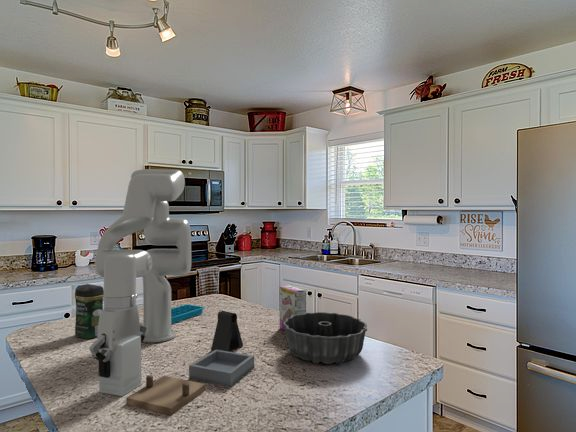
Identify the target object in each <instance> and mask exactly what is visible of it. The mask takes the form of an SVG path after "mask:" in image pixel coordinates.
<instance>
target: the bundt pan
mask: <svg viewBox="0 0 576 432" xmlns="http://www.w3.org/2000/svg"><path fill="white" fill-rule="evenodd" d="M283 325H284V327H285V330H284V332H285V338H286V343H287V346H288V348H289V350H290V352H291V353H292V354H293V356H295V357H297V358H300V359H302V360H303V361H307V362H309V361H312V362H313V363H314V364H318V363H320V362H321V363H323V364H326V365H330V364H333V363H336V364H338V365H339V364H343V362H344V361H345V362H347V361H351V360H353V359H354V358H355V357H357V356H358V355H360V354H361V352H362V351H363V347H364V343H365V336H366V332H368V328H367V327H368V324H367V323H366V322H364V321H362V320H361V319H360V318H358V317H354V316H351V315H348V314H343V313H342V314H340V313H337V312H325V311H324V312H323V311H320V312H319V311H318V312H306V313H304V314H297V315H293V316H291V317H290V318H286V321H284V323H283Z"/></svg>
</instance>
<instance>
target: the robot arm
mask: <svg viewBox="0 0 576 432" xmlns="http://www.w3.org/2000/svg"><path fill="white" fill-rule="evenodd" d="M185 180H186V179H185V175H184V173H183V172H182V170H179V169H160V168H157V169H155V168H152V169H151V168H145V169H137V170H134V171H133V172H132V173H131V175H130V180H129V183H128V187H127V192H126V197H125V201H124V202H125V203H124V206H123V212H122V216H120V217H119V218H118V219H116V220H115V221H114V222H113V223H112V224H111V225H109V226H108V227H107V229H105V231H104V232H103V233H102V235H101V236H100V239H99V241H98V245H97V249H96V254H95V259H94V270H95V272H96V274H97V275H98V276H100V277H101V278H103V290H104V298H103V310H101V313H100V317H99V323H98V333H97V337H96V340H95V341H94V342H93V343H92V344H91V345H90V346H89V348H88V349H89V352H90V353H91V355H92V357H93V358H94V359H95V360H96V361H97V362H98V377H99V376H100V377H105V378H109V377H110V361H108V359H109V357H110V356H111V354H112V352H113V351H115V350H116V345H118V344H120V343H122V342H124V341H127V340H129V339H132V338H134V337H137V336H140V337H141V347H142V346H143V343H148V344H149V343H152V344H153V343H162V342H166V341H167V342H168V341H170V340H172V339H174V338H175V337H176V335H177V333H176V330H174V329H172V324H171V308H172V287H171V284H170V282H169V281H168V279H166V276H185V275H188V274H189V273H190V272H191V269H192V229H191V226H190V225H191V224H190V223H189V221H188V220H187V219H185V218H170V209H169V207H170V205H169V202H173V201H177V199H178V198H179V196H181V194H182V193H183V192H184V189H185V185H186V181H185ZM142 230H143V234H144V235H143V236H144V240H145V242H146V243H147V244H148V245H152V246H176V247H177V248H151V249H147V250H143V249H114V248H115V246H116V245H117V243H119V242H120V241H121V240H122V239H124V238H125V237H127V236H131V235H132V234H134V233H136V232H139V231H142ZM137 278H142V288H143V289H142V298H143V299H142V303H143V305H142V308H143V309H142V310H143V311H142V312H143V313H142V318H143V319H142V320H143V322H141V321H140V314H139V308H138V304H137V298H138V294H137ZM103 343H104V344H103ZM106 344H107V346H108V348H107V347H106ZM101 345H102V347H100V346H101ZM99 349H101V350H100V351H99ZM105 351H107V352H106V354H105V356H104V353H105Z"/></svg>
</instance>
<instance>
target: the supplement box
mask: <svg viewBox="0 0 576 432" xmlns="http://www.w3.org/2000/svg"><path fill="white" fill-rule="evenodd" d="M103 344H104V343H103ZM100 347H102V345H101V346H100ZM106 347H107V348H108V346H107V344H106ZM100 350H101V349H99V351H100ZM106 352H107V351H105V353H104V356H105V354H106ZM108 361H110V377H109V378H105V377H100V376H99V375H98V385H99V387H98V389H99V391H98V392H99V393H102V394H108V395H113V396H114V395H115V396H119V397H123V396H125V395H127V394H128V393H131V391H133V390H134V389H137V388H138V387H139V386H141V385H142V346H141V337H140V336H137V337H134V338H132V339H129V340H127V341H124V342H122V343H120V344H118V345H116V350H115V351H113V352H112V354H111V356H110V357H109V359H108Z"/></svg>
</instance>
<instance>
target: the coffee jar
mask: <svg viewBox="0 0 576 432" xmlns="http://www.w3.org/2000/svg"><path fill="white" fill-rule="evenodd" d="M74 300H75V328H74V331H75V332H74V335H75V337H78V338H82V339H85V340H89V339H94V338H95V339H97V333H98V323H99V317H100V313H101V310H103V309H104V286H102V285H96V284H89V283H86V284H80V285H77V286H76V288H75V291H74Z"/></svg>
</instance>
